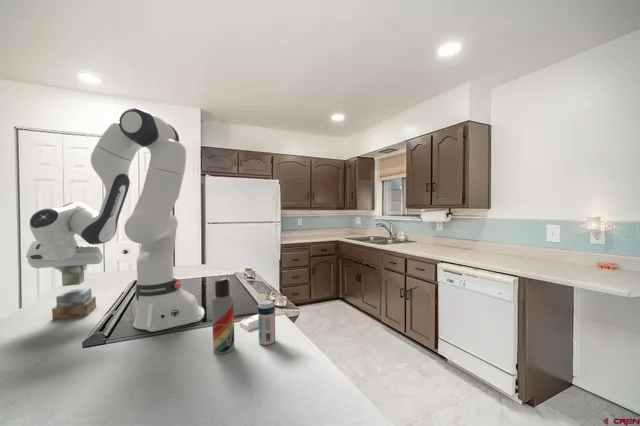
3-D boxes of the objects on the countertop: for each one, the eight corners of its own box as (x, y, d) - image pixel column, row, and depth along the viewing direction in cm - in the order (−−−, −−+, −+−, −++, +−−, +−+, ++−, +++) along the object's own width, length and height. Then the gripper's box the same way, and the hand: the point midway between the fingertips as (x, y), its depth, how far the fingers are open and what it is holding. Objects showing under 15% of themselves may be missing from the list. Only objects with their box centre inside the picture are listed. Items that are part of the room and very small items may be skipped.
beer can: (278, 340, 85) (277, 300, 85) (269, 347, 81) (268, 305, 81) (265, 337, 87) (264, 298, 87) (255, 344, 83) (254, 303, 83)
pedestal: (96, 306, 116) (95, 286, 115) (87, 315, 106) (86, 294, 106) (64, 310, 112) (63, 290, 111) (52, 319, 103) (51, 297, 102)
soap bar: (270, 323, 98) (270, 315, 98) (247, 332, 92) (247, 323, 92) (262, 319, 102) (262, 311, 102) (239, 327, 95) (239, 319, 95)
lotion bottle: (222, 356, 77) (220, 282, 76) (208, 351, 80) (206, 280, 79) (238, 347, 81) (237, 277, 81) (225, 342, 84) (223, 275, 84)
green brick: (84, 281, 112) (83, 255, 112) (79, 284, 107) (78, 258, 107) (68, 282, 110) (67, 256, 110) (62, 286, 105) (61, 259, 105)
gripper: (99, 238, 106) (108, 260, 115) (26, 241, 98) (42, 264, 107) (95, 252, 102) (105, 273, 111) (19, 257, 94) (36, 279, 103)
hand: (73, 269), depth 109 cm, fingers closed on green brick, 5 cm apart
